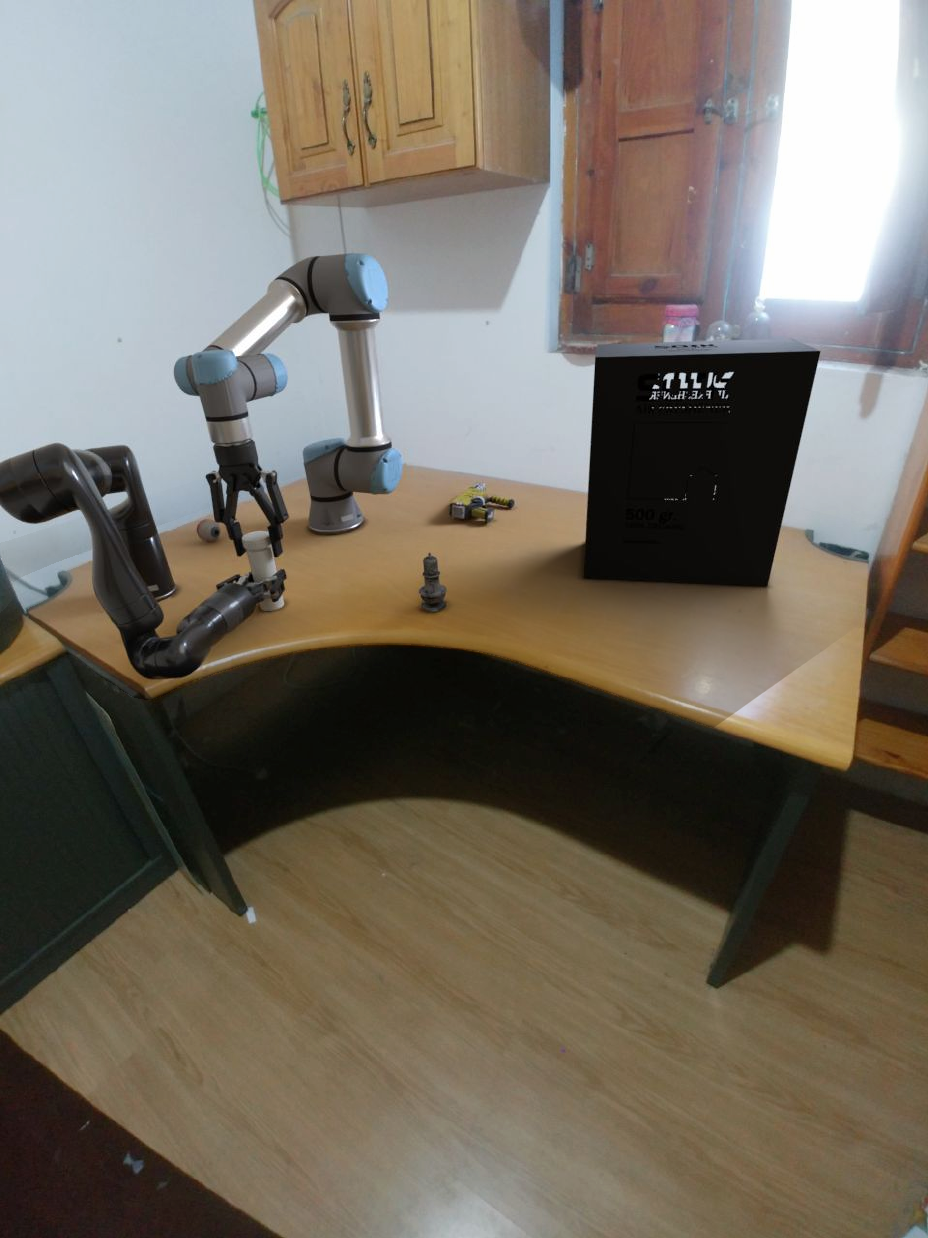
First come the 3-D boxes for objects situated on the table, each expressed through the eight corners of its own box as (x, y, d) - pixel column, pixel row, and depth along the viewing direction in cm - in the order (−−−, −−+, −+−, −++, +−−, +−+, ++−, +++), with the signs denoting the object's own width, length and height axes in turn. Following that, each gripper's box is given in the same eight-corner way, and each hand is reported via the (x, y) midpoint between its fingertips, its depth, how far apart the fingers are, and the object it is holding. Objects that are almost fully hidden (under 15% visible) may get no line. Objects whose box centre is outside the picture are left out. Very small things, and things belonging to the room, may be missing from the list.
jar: (275, 598, 132) (259, 533, 125) (288, 604, 130) (274, 538, 122) (256, 607, 129) (239, 541, 122) (269, 613, 126) (253, 546, 119)
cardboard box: (748, 547, 142) (790, 338, 120) (767, 586, 125) (820, 350, 103) (586, 541, 150) (597, 344, 127) (583, 577, 133) (595, 357, 110)
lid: (254, 538, 126) (252, 529, 125) (277, 540, 124) (275, 531, 123) (237, 548, 121) (235, 539, 120) (261, 551, 119) (259, 542, 118)
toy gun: (522, 487, 180) (475, 480, 184) (500, 511, 160) (447, 502, 164) (521, 502, 182) (474, 495, 186) (499, 527, 162) (447, 519, 166)
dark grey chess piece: (444, 613, 122) (440, 559, 116) (416, 611, 123) (411, 558, 117) (450, 599, 127) (447, 547, 121) (424, 598, 128) (419, 546, 122)
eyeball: (210, 546, 160) (204, 525, 157) (195, 542, 163) (189, 521, 160) (228, 538, 164) (223, 518, 161) (213, 535, 167) (208, 514, 164)
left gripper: (253, 596, 111) (299, 558, 125) (187, 590, 114) (239, 553, 128) (262, 631, 114) (305, 590, 128) (198, 624, 118) (247, 585, 132)
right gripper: (292, 435, 114) (313, 547, 125) (194, 437, 117) (223, 546, 128) (275, 445, 107) (299, 563, 119) (172, 447, 110) (205, 560, 122)
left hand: (272, 572), depth 128 cm, fingers closed on jar, 5 cm apart
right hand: (260, 554), depth 123 cm, fingers open, 7 cm apart
